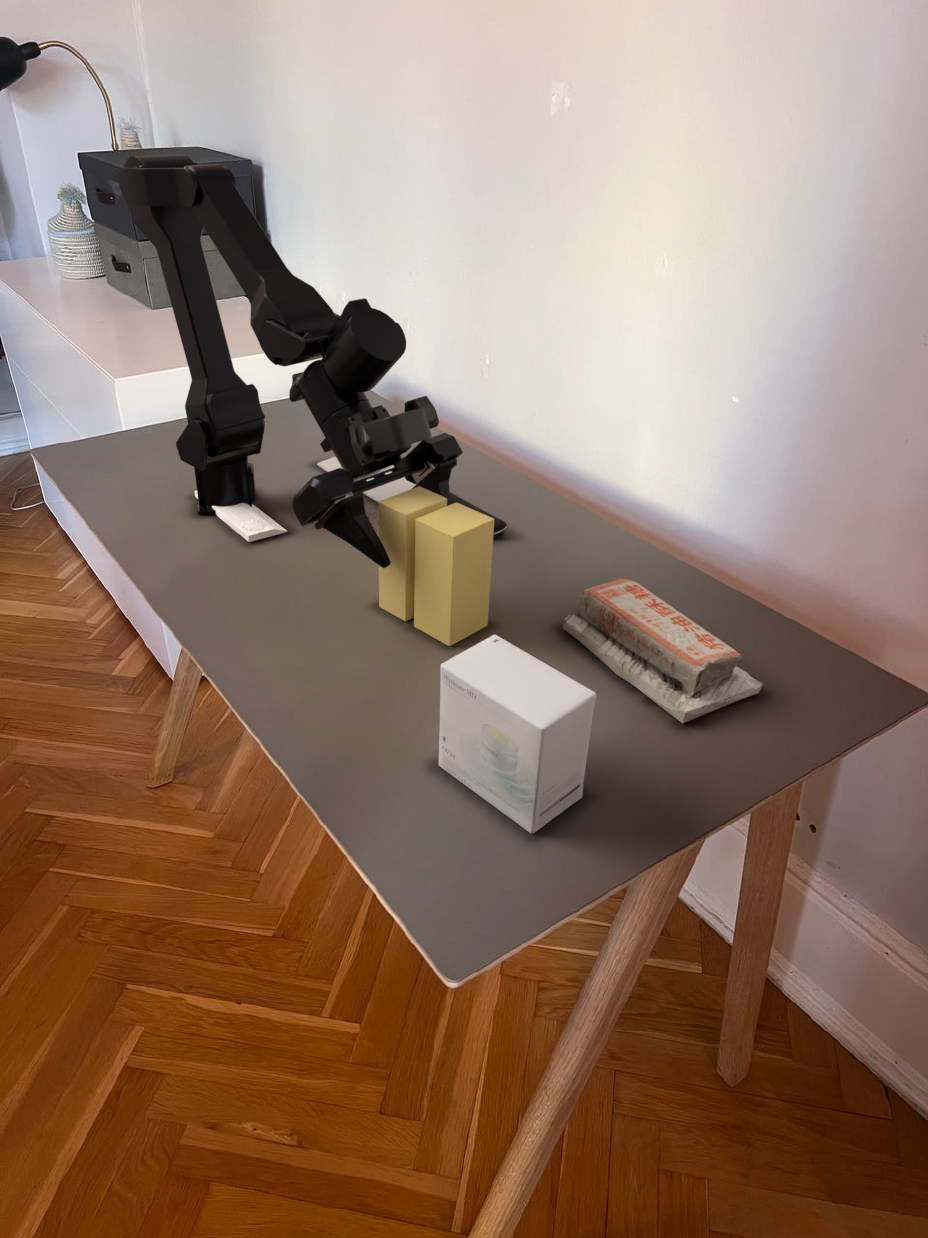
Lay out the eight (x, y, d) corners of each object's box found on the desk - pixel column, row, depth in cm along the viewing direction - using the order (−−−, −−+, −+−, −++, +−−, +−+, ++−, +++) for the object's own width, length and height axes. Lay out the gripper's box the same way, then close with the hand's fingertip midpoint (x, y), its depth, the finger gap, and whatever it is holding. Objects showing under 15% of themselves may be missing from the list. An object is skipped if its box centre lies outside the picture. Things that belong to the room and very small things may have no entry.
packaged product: (563, 588, 90) (639, 566, 94) (558, 629, 92) (633, 606, 97) (692, 683, 77) (773, 651, 82) (682, 728, 79) (761, 695, 84)
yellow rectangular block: (378, 607, 95) (377, 501, 88) (417, 588, 98) (419, 485, 92) (405, 622, 92) (406, 514, 86) (444, 602, 96) (447, 498, 90)
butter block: (413, 626, 92) (415, 518, 85) (452, 607, 95) (456, 501, 89) (449, 646, 89) (453, 536, 82) (487, 625, 92) (494, 518, 86)
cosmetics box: (434, 768, 74) (437, 661, 68) (489, 734, 78) (496, 631, 72) (530, 838, 68) (542, 727, 62) (585, 797, 71) (601, 690, 66)
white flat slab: (232, 488, 118) (231, 480, 117) (287, 533, 108) (286, 524, 107) (194, 496, 115) (193, 488, 115) (247, 543, 105) (247, 534, 105)
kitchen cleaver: (315, 458, 125) (376, 436, 130) (317, 469, 126) (377, 447, 131) (451, 546, 105) (518, 516, 109) (452, 559, 106) (518, 529, 110)
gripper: (304, 393, 79) (391, 549, 79) (452, 354, 91) (529, 490, 91) (257, 453, 88) (335, 594, 87) (398, 411, 100) (468, 535, 99)
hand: (421, 551), depth 91 cm, fingers open, 9 cm apart
